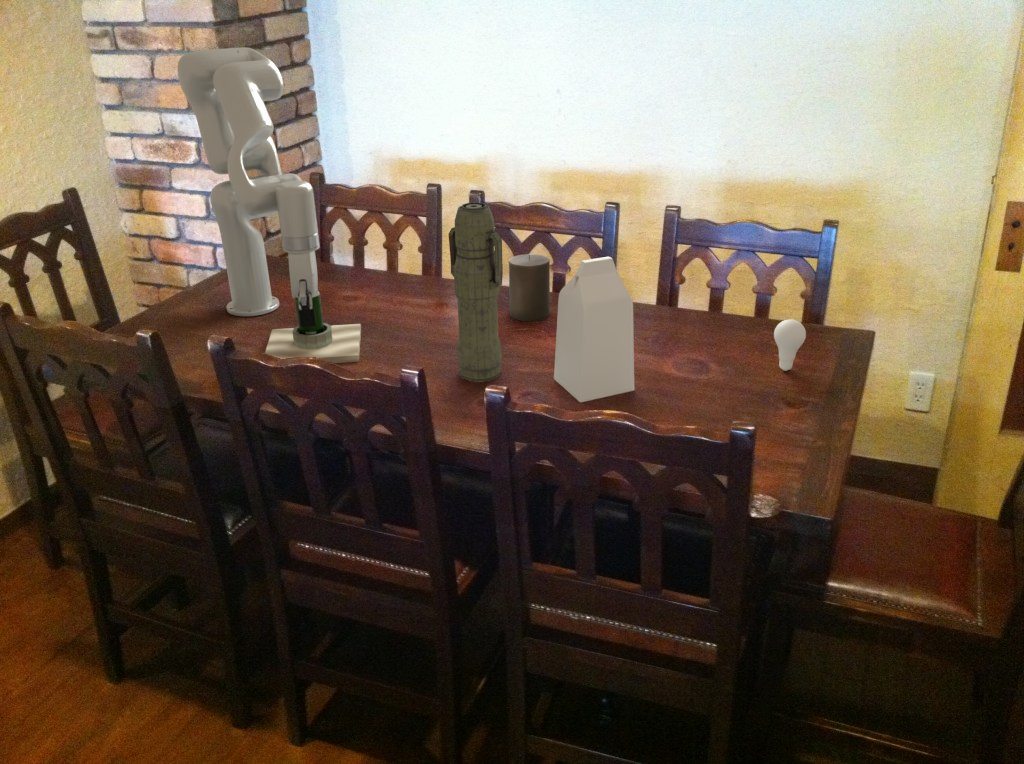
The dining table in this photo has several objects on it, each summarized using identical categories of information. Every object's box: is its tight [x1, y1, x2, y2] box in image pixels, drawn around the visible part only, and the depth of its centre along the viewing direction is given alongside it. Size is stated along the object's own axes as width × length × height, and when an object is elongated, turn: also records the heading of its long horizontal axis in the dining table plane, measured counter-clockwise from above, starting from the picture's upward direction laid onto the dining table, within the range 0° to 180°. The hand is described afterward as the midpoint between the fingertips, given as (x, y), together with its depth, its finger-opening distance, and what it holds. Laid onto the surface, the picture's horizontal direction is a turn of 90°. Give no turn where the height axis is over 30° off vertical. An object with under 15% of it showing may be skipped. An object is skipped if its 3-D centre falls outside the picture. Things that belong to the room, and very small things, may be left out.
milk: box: [553, 256, 635, 403], centre depth 167 cm, size 12×12×26 cm
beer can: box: [294, 287, 324, 335], centre depth 188 cm, size 5×5×12 cm
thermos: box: [448, 202, 504, 383], centre depth 170 cm, size 9×12×35 cm
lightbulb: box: [773, 318, 807, 372], centre depth 174 cm, size 6×6×11 cm
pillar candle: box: [508, 253, 551, 322], centre depth 204 cm, size 10×10×15 cm
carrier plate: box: [264, 322, 362, 364], centre depth 190 cm, size 18×20×4 cm
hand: (310, 317), depth 188 cm, fingers open, 9 cm apart
